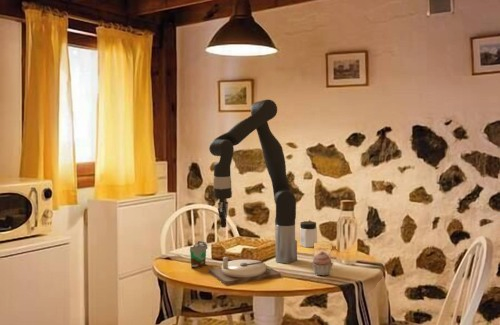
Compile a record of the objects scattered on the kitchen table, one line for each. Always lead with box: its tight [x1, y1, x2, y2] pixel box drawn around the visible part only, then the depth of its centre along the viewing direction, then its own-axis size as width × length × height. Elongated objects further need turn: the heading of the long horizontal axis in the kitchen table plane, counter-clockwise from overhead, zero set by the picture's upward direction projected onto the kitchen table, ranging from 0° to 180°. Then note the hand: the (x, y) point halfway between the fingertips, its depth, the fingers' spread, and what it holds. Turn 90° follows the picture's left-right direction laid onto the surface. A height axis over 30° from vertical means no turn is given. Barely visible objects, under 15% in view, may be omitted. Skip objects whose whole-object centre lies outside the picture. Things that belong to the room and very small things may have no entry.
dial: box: [221, 256, 267, 278], centre depth 233 cm, size 19×19×7 cm
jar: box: [299, 220, 318, 248], centre depth 282 cm, size 9×8×12 cm
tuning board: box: [207, 264, 282, 286], centre depth 233 cm, size 25×20×2 cm
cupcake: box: [310, 250, 334, 276], centre depth 232 cm, size 9×9×10 cm
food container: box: [189, 240, 209, 269], centre depth 248 cm, size 12×6×10 cm, turn 168°
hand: (223, 227), depth 232 cm, fingers closed
